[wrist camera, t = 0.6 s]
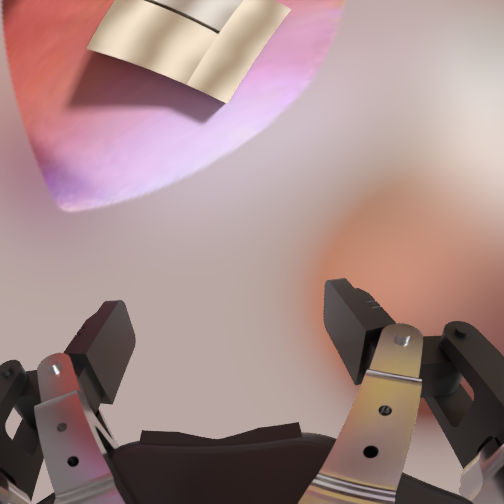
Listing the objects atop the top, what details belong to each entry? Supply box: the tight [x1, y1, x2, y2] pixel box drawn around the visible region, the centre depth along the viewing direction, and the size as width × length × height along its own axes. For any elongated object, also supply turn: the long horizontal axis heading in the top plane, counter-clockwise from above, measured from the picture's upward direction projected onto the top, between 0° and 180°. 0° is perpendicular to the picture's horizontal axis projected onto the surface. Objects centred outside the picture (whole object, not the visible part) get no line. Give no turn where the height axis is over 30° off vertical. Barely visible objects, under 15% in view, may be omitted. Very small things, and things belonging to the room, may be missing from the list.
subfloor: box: [95, 0, 291, 104], centre depth 22 cm, size 18×14×3 cm
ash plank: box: [86, 0, 218, 85], centre depth 21 cm, size 12×7×2 cm, turn 61°
